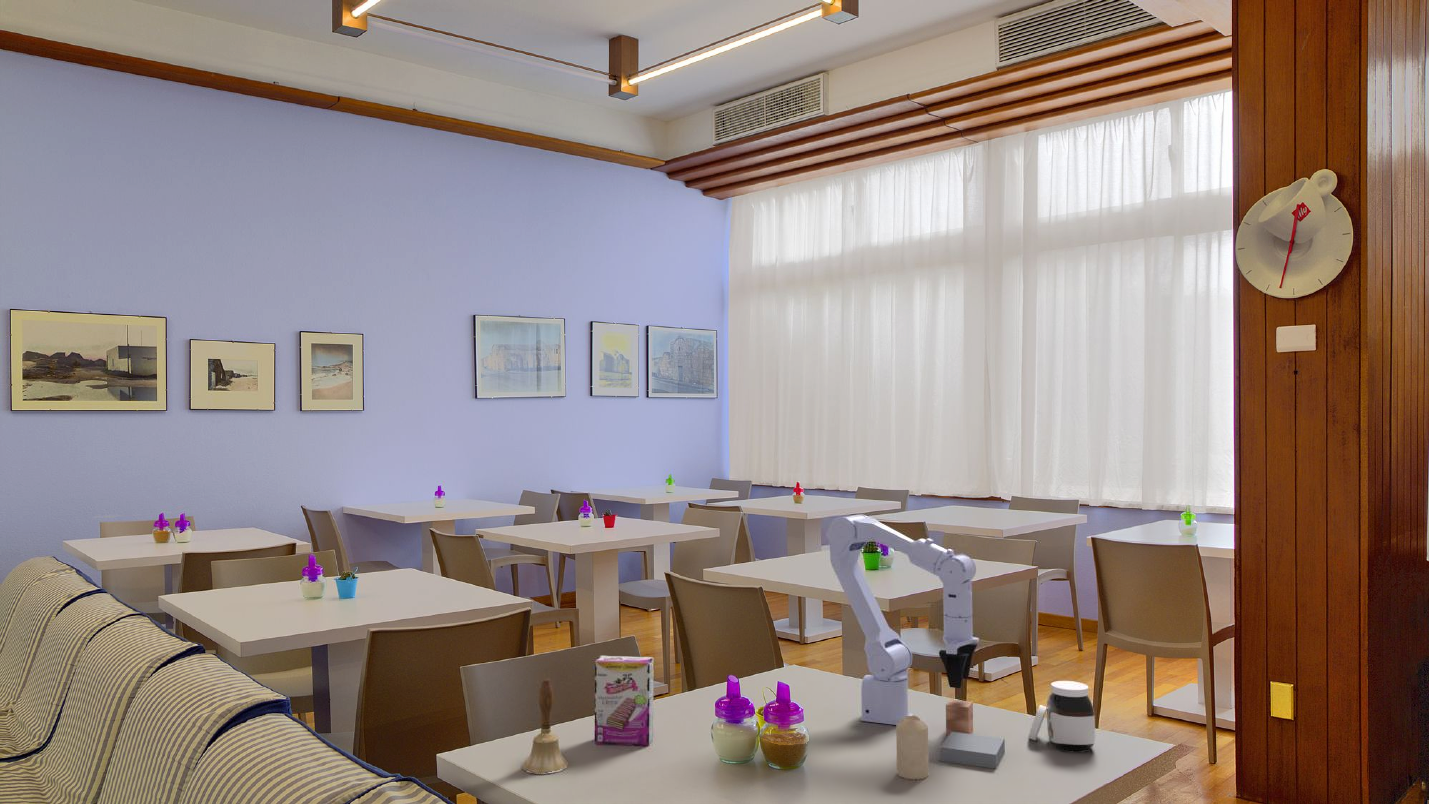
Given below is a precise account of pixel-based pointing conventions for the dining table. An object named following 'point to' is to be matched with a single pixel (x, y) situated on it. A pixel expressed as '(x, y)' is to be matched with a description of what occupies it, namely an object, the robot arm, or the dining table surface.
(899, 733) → the candle
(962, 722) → the block
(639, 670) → the candy bar box
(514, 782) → the dining table surface
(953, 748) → the base
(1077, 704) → the spread jar
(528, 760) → the hand bell
